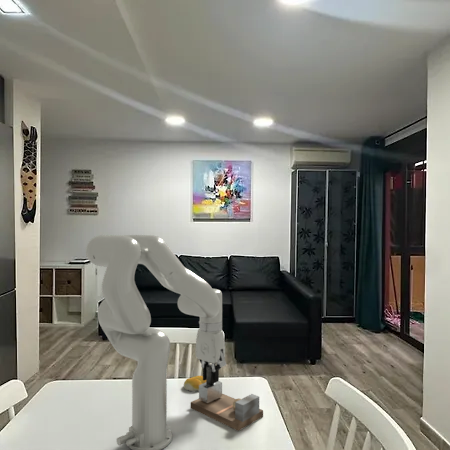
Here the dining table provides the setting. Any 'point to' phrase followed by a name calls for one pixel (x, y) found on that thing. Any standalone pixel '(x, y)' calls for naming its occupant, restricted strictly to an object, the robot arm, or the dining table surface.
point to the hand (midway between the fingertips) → (210, 380)
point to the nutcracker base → (231, 410)
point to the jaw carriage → (210, 388)
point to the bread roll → (194, 383)
